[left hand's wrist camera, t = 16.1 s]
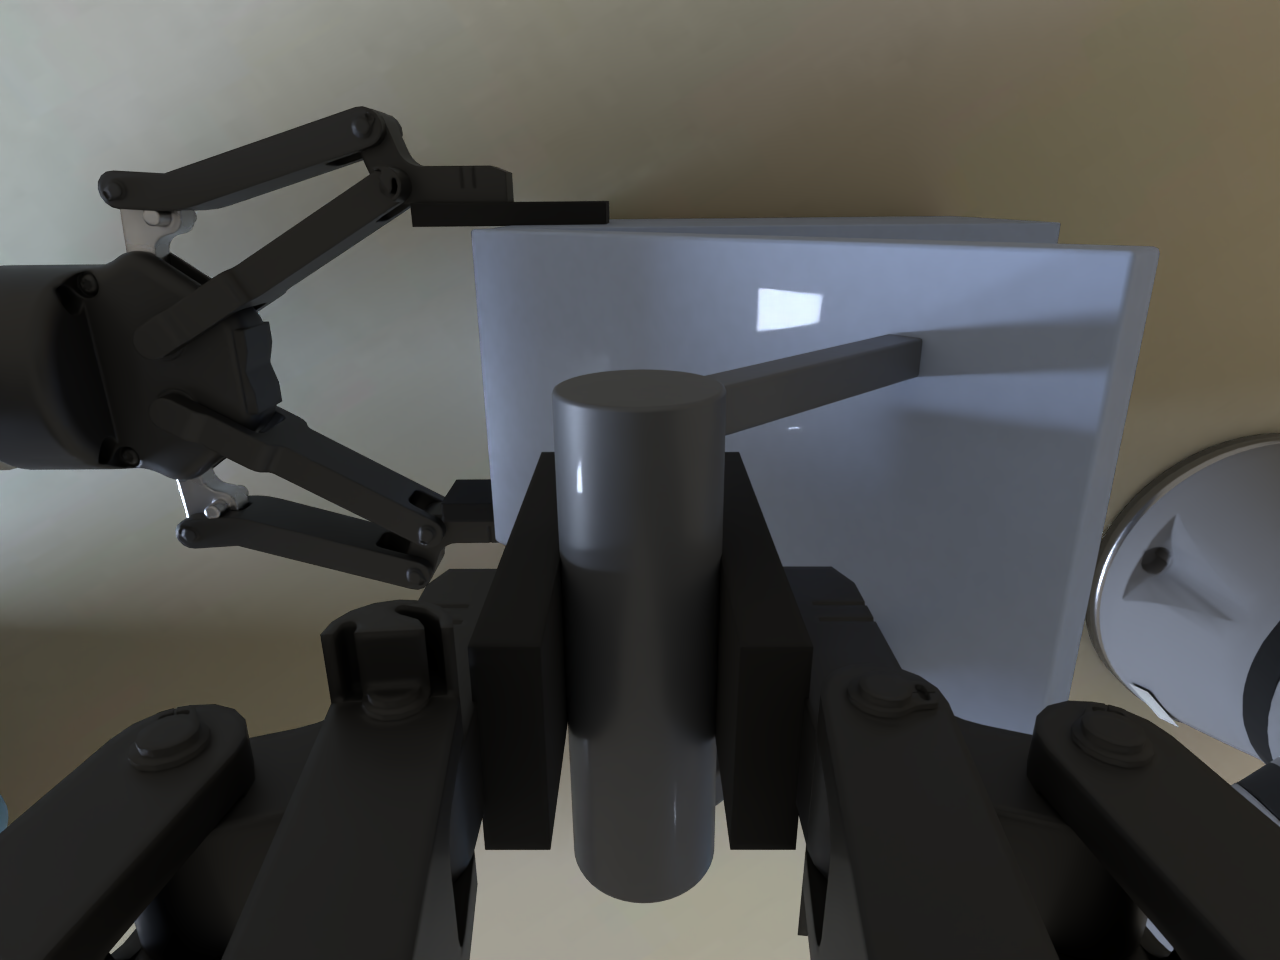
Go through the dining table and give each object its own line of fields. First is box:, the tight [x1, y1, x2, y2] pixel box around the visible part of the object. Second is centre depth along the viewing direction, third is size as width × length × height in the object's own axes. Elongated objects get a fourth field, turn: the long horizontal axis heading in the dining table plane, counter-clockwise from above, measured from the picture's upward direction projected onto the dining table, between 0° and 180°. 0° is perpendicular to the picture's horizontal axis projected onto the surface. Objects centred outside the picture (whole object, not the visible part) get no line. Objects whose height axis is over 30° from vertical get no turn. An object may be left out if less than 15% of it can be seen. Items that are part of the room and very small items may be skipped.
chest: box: [497, 216, 1060, 244], centre depth 30 cm, size 17×10×10 cm, turn 91°
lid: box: [471, 228, 1160, 903], centre depth 17 cm, size 18×10×9 cm
